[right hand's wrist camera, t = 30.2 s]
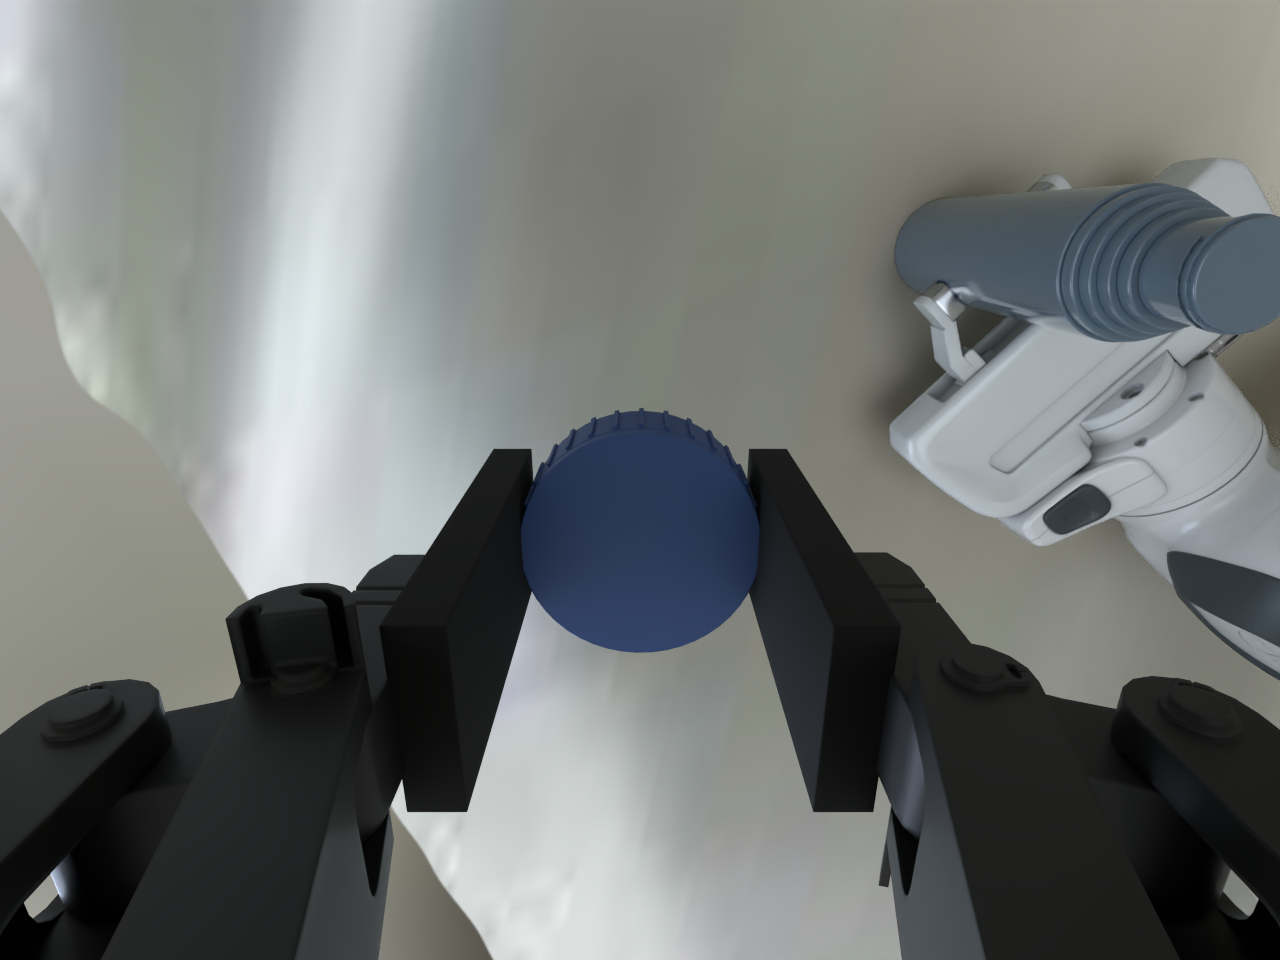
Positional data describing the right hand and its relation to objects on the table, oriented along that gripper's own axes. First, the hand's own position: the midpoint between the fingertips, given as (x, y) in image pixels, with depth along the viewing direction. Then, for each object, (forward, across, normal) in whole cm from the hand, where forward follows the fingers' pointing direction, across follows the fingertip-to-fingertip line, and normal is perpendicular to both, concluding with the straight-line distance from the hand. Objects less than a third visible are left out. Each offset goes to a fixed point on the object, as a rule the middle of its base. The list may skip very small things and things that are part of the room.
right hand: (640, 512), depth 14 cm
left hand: (+24, +17, +5) cm, 30 cm away
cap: (-1, 0, 0) cm, 1 cm away
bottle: (+30, +18, +4) cm, 35 cm away
